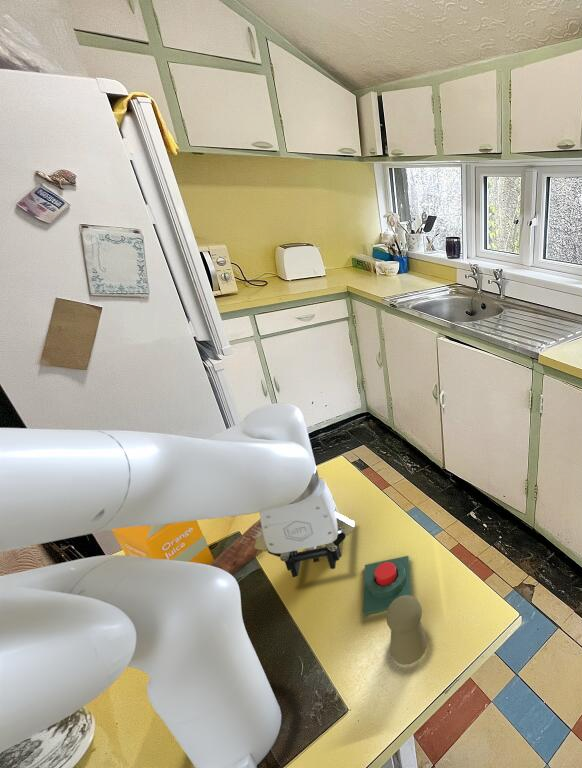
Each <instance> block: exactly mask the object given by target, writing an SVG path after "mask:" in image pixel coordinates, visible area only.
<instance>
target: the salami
mask: <svg viewBox="0 0 582 768" xmlns="http://www.w3.org/2000/svg"><path fill="white" fill-rule="evenodd" d="M262 532H263V531H262V526H261V520H260V518H259V519H258V520H257V521H256V522H254V523H253V524H252V525H251V526H250V527H249V528H248V529H247V530H246V531H245V532H244V533H242V534H241V535H240V536H239V537H237V538H236V539H235V540H234V541H233V542H232V543H231V544H230V545H229V546H228V547H227V548H226V549H225V550H224V551H222V552H221V553H220V554H219V555H218V556H217V557H216V558H215V559H214V561H213V562H212V563H211V564H210V566H214V567H217V568H220V569H222V570H224V571H226V572H228V573H229V574H231V575H232V576H233V577H234V575H235V574H236V573H238V572H239V571H240V570H242V568H244V567H245V566H246V565H248V564H249V563H250V562H251V561H252V560H254V559H255V558H256V557H257V556H258V555H259V554H261V553H262V552H263V551H262V550H258V549H255V548H254V546H255V543H256V540H257V539H258V537H259V536H260V535H261V533H262Z"/></svg>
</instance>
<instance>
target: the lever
mask: <svg viewBox="0 0 582 768" xmlns="http://www.w3.org/2000/svg"><path fill="white" fill-rule="evenodd" d="M326 553H327V547H326V546H323V547H321V548H317V546H316V547H311V548H307V550H302V551H297V553H294V562H299V561H300V562H303V561H309V560H313V559H314V558H319V557H320V558H323V557H327V554H326Z"/></svg>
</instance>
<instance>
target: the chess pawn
mask: <svg viewBox="0 0 582 768" xmlns="http://www.w3.org/2000/svg"><path fill="white" fill-rule="evenodd" d="M422 615H423V608H422V605H421V603H420V601H419V600H418V598H417V597H415V596H413V595H412V596H409V595H403V596H400V597H398V598H396V599H395V600H394V601H393V602H392V603H391V604H390V605H389V607H388V609H387V611H386V615H385V620H386V625H387V626H388V628H389V629H390V656H391V657H392V659H393V661H394V662H396V663H397V664H399V665H403V666H405V665H406V666H407V665H411V664H414V663H416V662H417V661H419V660H420V659H421V658H422V657H423V656H424V654H425V653H426V650H427V647H428V639H427V638H428V637H427V635H426V632H425V630H424V627H423V624H422V621H421V620H422Z"/></svg>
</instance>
